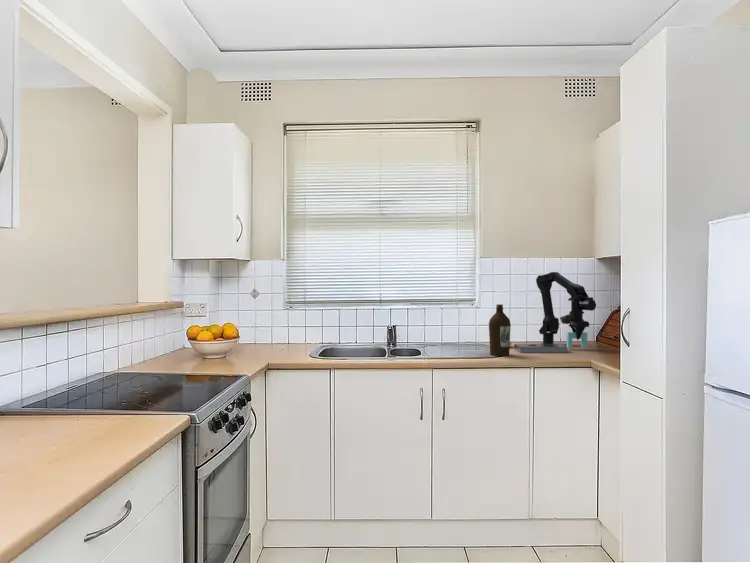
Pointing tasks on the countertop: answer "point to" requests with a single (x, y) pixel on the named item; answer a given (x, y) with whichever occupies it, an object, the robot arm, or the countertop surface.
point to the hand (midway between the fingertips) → (576, 339)
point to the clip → (573, 336)
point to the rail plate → (540, 348)
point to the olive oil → (499, 333)
